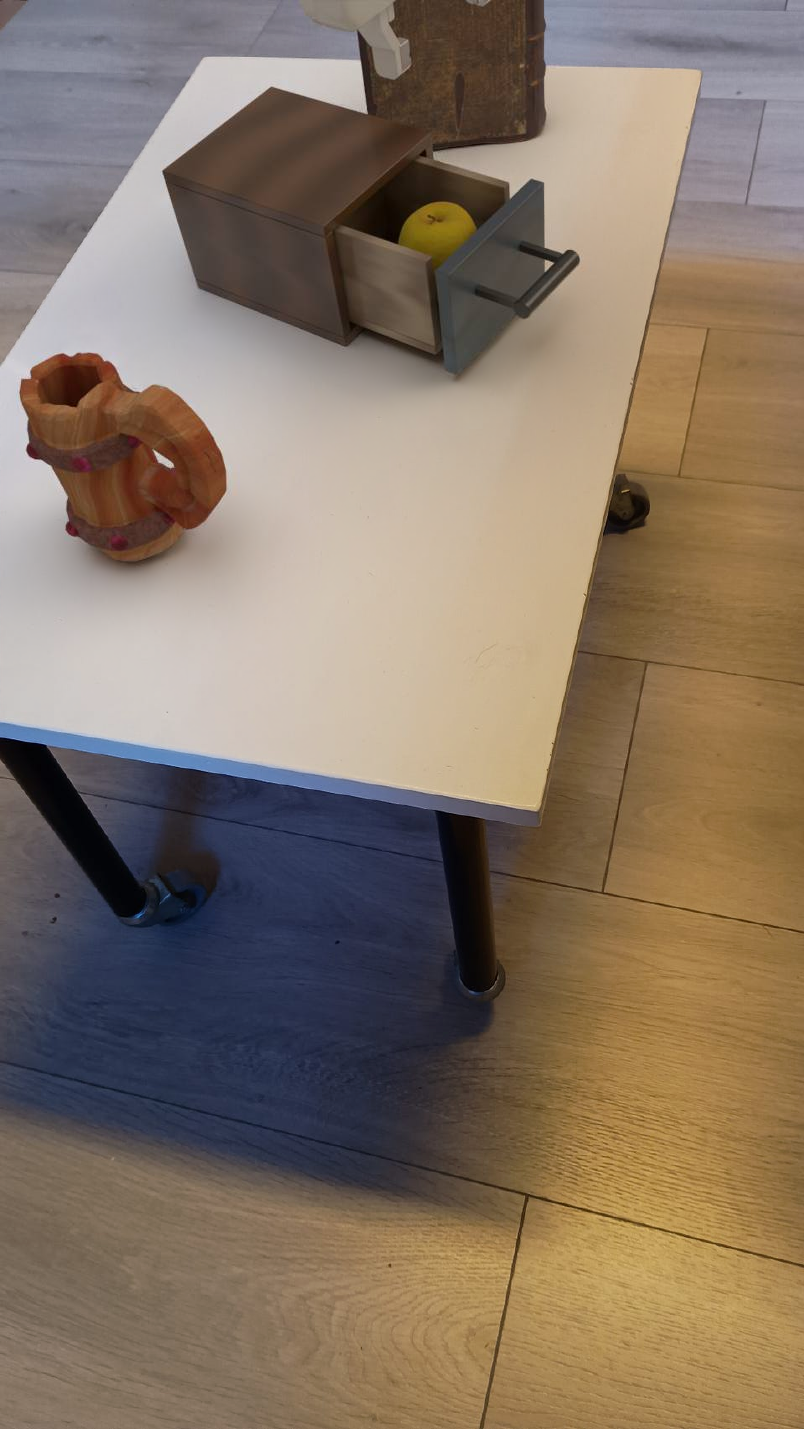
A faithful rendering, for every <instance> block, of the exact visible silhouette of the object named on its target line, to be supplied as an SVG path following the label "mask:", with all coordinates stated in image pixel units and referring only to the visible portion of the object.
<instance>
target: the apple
mask: <svg viewBox="0 0 804 1429" xmlns="http://www.w3.org/2000/svg"><path fill="white" fill-rule="evenodd" d="M476 231H477V229H476V226H475V224H474V222H473V220H472V218H471V217H470V215H469V214H468V213H467V212H466V211H465V210H464V209H463V208H461V207H460V206H459V205H457V204H454V203H450V202H435V203H431V204H428V205H426V206H423V207H422V208H420V209H419V210H417V211H416V212H414V213H413V214H412V215H411V216H410V217H409V218H408V219H407V220H406V222H405V223H404V225H403V227H402V230H401V233H400V237H399V241H398V245H401V246H404V247H407V248H409V249H412V250H415V251H418V252H421V253H424V254H427V255H430V256H432V264H433V274H434V284H435V293H436V303H437V302H438V293H437V284H436V274H435V270H436V269H437V268H438V267H439V266H440V265H442V264H443V263H444V262H445V261H446V260H447V259H448V258H449V257H450V256H451V255H452V254H453V253H454V252H455V251H456V250H457V249H458V248H459V247H460V246H461V245H462V244H463V243H464V242H466V241H467V240H468V239H469V238H470V237H471V236H472V235H473V234H474V233H475V232H476Z"/></svg>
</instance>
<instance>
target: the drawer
mask: <svg viewBox="0 0 804 1429" xmlns="http://www.w3.org/2000/svg"><path fill="white" fill-rule="evenodd" d="M435 202H450V203H454V204H457V205H459V206H460V207H461V208H463V209H464V210H465V211H466V212H467V213H468V214H469V215H470V217H471V218H472V220H473V222H474V224H475V226H476V229H477V231H476V232H475V233H474V234H473V235H472V236H471V237H470V238H469V239H468V240H467V241H466V242H464V243H463V244H462V245H461V246H460V247H459V248H458V249H457V250H456V251H455V252H454V253H453V254H452V255H451V256H450V257H449V258H448V259H447V260H446V261H445V262H444V263H443V264H442V265H440V266H439V267H438V268H437V269H436V270H435V274H436V284H437V293H438V302H437V303H436V293H435V284H434V274H433V264H432V256H430V255H427V254H424V253H421V252H418V251H415V250H412V249H409V248H407V247H404V246H401V245H398V241H399V237H400V233H401V230H402V227H403V225H404V223H405V222H406V220H407V219H408V218H409V217H410V216H411V215H412V214H413V213H414V212H416V211H417V210H419V209H420V208H422V207H423V206H426V205H428V204H431V203H435ZM332 232H333V238H334V243H335V248H336V254H337V259H338V265H339V270H340V276H341V281H342V287H343V292H344V297H345V303H346V308H347V314H348V319H349V322H352V323H355V324H357V325H360V326H362V327H365V329H367V330H369V331H373V332H375V333H377V334H381V335H383V336H386V337H388V338H391V339H393V340H396V341H398V342H401V343H403V344H407V345H408V346H411V347H414V348H417V349H418V350H419V349H420V350H422V351H424V352H427V353H430V354H432V355H435V356H437V355H438V354H439V353H440V351H441V350H443V361H444V370H445V371H446V372H448V373H451V374H454V375H456V376H458V375H459V374H460V373H461V372H462V371H463V370H464V369H465V368H466V367H467V366H468V365H469V364H470V363H471V362H472V361H473V360H474V359H475V358H476V357H477V356H478V355H479V354H480V352H482V351H483V350H484V348H485V347H486V346H488V345H489V343H490V342H491V341H493V339H495V337H496V336H497V335H498V334H499V333H500V332H501V331H502V330H503V329H504V328H505V327H506V326H507V325H508V324H509V323H510V322H511V321H512V320H513V319H514V318H515V316H517V317H518V318H519V319H522V320H526V319H529V318H530V317H531V315H533V313H534V312H535V311H536V310H537V309H538V308H539V307H540V306H541V305H542V304H543V303H544V302H545V301H546V300H547V298H548V297H549V296H551V294H552V293H553V292H554V291H555V290H557V288H559V286H560V285H561V284H563V282H564V281H565V280H566V279H567V278H568V277H569V276H570V275H571V274H572V272H574V270H575V269H577V267H578V266H579V265H580V263H581V258H580V255H579V254H578V253H577V251H575V250H574V249H567V250H565V251H564V252H560V251H557V250H553V249H551V248H547V247H546V246H545V245H546V244H545V243H546V242H545V241H546V240H545V239H546V236H545V234H546V233H545V232H546V230H545V182H544V181H541V180H537V179H534V178H530V179H529V180H528V181H527V182H526V183H525V184H524V185H523V186H522V187H520V188H519V190H518V191H516V192H515V194H513V195H512V196H511V189H510V182H509V181H506V180H503V179H500V178H496V177H493V176H489V175H487V174H482V173H479V172H477V171H476V172H475V171H473V170H469V169H465V168H463V167H459V166H456V165H453V164H449V163H446V162H443V161H440V160H436V159H434V160H433V159H429V158H426V157H423V156H419V155H418V156H417V157H416V158H414V159H413V160H412V161H411V162H410V163H409V164H408V165H407V166H405V167H404V168H403V169H402V170H401V171H400V172H399V173H397V174H396V175H395V176H394V177H393V178H392V179H391V180H389V181H388V182H387V183H386V184H385V185H384V186H383V187H382V188H380V189H379V190H378V191H377V192H376V193H375V194H374V195H372V196H371V197H370V198H369V199H368V200H367V201H366V202H364V203H363V204H362V205H361V206H360V207H359V208H358V209H357V210H355V211H354V212H353V213H352V214H351V215H350V216H349V217H347V218H346V219H345V220H344V221H343V222H342V223H341V224H339V225H338V226H337V227H336V228H335V229H334V230H333V231H332ZM546 261H547V262H551V263H552V264H551V265H550V266H549V267H548V269H546Z"/></svg>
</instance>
